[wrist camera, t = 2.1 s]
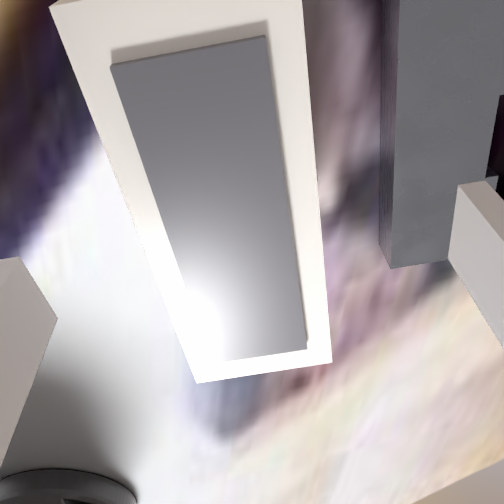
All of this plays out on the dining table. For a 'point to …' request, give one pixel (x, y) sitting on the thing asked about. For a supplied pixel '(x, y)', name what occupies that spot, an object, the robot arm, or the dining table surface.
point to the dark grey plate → (435, 118)
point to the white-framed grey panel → (213, 168)
